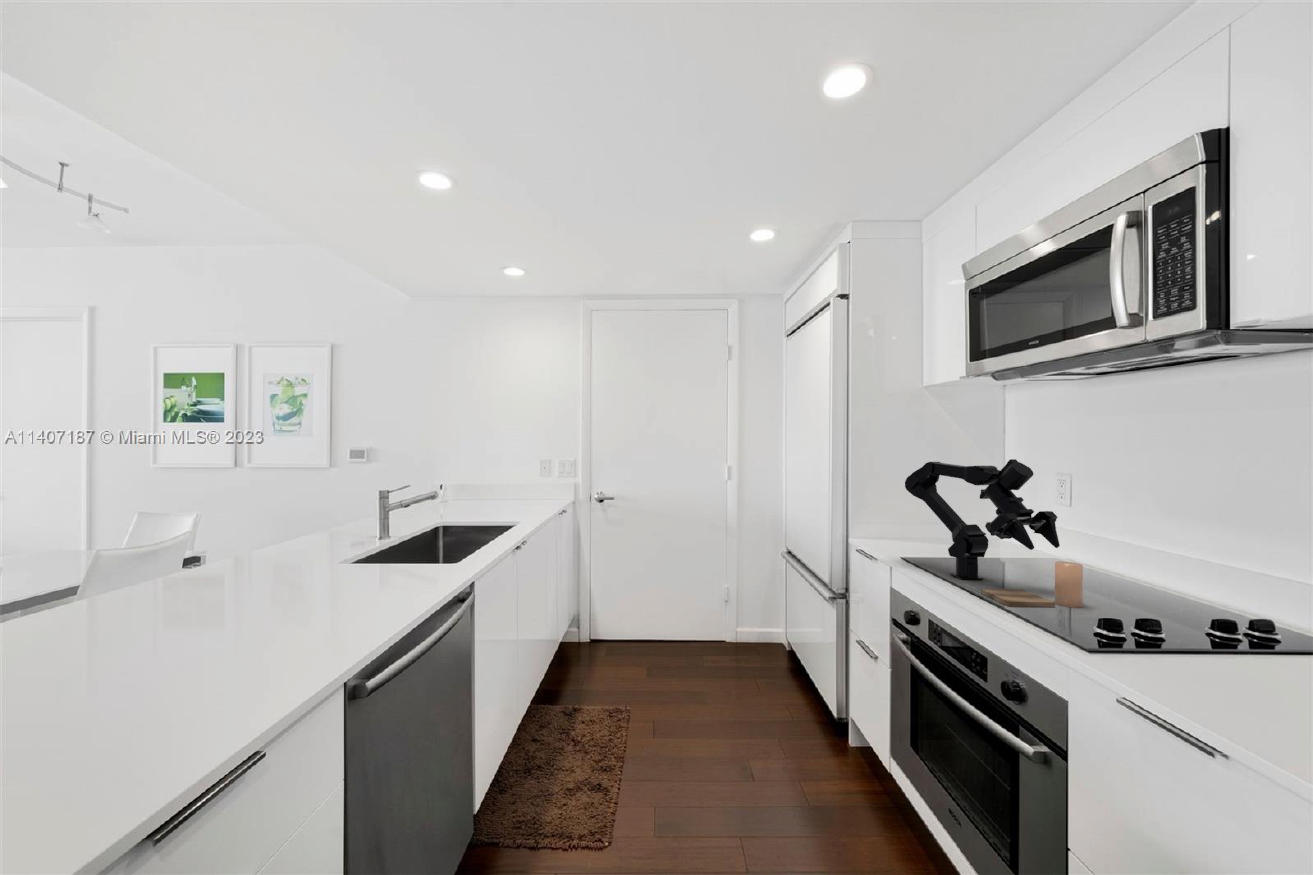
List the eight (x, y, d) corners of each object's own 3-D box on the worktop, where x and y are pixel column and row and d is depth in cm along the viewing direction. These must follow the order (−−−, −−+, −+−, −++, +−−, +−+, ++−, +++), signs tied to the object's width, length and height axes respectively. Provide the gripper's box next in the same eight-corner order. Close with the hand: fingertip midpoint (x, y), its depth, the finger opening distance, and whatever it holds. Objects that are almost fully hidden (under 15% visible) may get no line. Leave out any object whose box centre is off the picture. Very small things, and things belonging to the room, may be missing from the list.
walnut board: (981, 593, 147) (981, 589, 147) (1022, 594, 147) (1022, 589, 147) (1009, 606, 135) (1009, 601, 135) (1054, 607, 135) (1054, 602, 135)
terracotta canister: (1049, 600, 141) (1049, 561, 141) (1071, 601, 141) (1071, 561, 141) (1065, 607, 135) (1065, 566, 135) (1088, 607, 135) (1088, 566, 135)
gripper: (1011, 518, 163) (1049, 563, 152) (962, 520, 156) (998, 568, 146) (1037, 493, 155) (1079, 539, 145) (987, 494, 149) (1027, 542, 139)
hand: (1045, 548), depth 144 cm, fingers open, 9 cm apart
